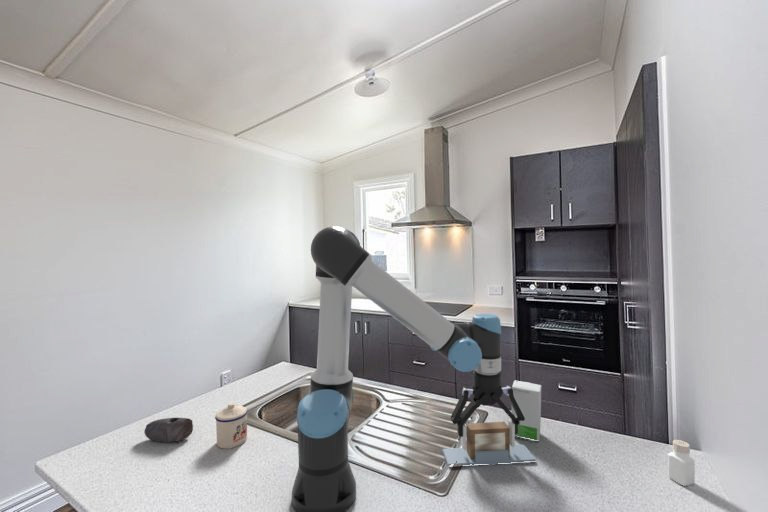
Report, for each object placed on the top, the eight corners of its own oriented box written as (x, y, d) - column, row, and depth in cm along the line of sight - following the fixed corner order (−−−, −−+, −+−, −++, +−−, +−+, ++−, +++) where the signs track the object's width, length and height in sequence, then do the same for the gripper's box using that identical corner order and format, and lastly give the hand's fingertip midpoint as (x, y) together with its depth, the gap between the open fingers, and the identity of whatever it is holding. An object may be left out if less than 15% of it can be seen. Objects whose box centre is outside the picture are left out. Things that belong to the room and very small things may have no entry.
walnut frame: (470, 459, 96) (470, 430, 96) (466, 451, 100) (466, 423, 99) (509, 457, 97) (509, 428, 96) (504, 449, 100) (504, 421, 100)
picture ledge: (448, 467, 94) (448, 445, 94) (442, 452, 101) (442, 431, 101) (535, 462, 95) (535, 441, 95) (524, 448, 102) (523, 427, 102)
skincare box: (510, 436, 109) (510, 386, 108) (513, 426, 114) (513, 379, 114) (540, 443, 105) (539, 391, 104) (541, 432, 111) (541, 383, 110)
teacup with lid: (237, 450, 104) (236, 411, 103) (209, 448, 105) (208, 410, 105) (257, 429, 116) (256, 394, 115) (232, 427, 117) (231, 393, 117)
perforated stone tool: (138, 443, 109) (138, 421, 108) (152, 434, 114) (151, 413, 114) (183, 446, 107) (183, 423, 107) (195, 436, 112) (194, 415, 112)
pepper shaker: (684, 487, 85) (684, 449, 85) (666, 477, 89) (666, 440, 88) (695, 484, 86) (696, 446, 86) (678, 474, 90) (678, 437, 89)
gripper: (445, 377, 93) (446, 456, 94) (537, 373, 94) (537, 451, 95) (439, 367, 101) (440, 440, 101) (524, 364, 102) (525, 436, 103)
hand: (487, 446), depth 98 cm, fingers open, 13 cm apart
